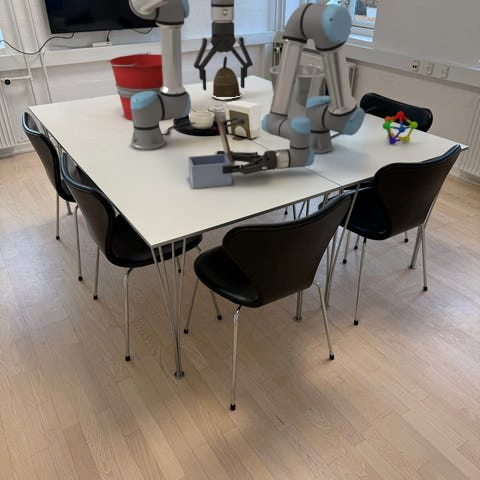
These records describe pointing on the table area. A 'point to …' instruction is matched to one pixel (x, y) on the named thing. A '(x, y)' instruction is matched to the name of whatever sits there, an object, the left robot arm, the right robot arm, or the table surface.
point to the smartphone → (223, 153)
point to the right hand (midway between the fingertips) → (220, 164)
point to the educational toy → (398, 128)
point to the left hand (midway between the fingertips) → (223, 88)
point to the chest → (209, 171)
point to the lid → (223, 132)
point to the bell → (225, 82)
